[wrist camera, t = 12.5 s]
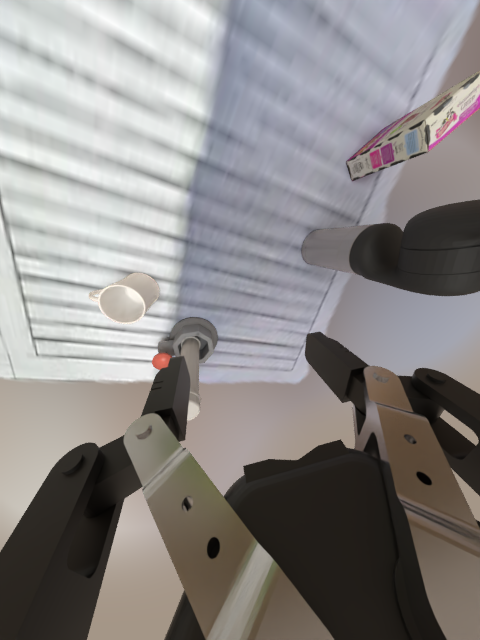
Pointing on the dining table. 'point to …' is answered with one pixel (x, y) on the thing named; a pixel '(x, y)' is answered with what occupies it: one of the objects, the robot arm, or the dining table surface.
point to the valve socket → (181, 331)
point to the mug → (127, 298)
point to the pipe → (192, 373)
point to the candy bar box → (418, 129)
